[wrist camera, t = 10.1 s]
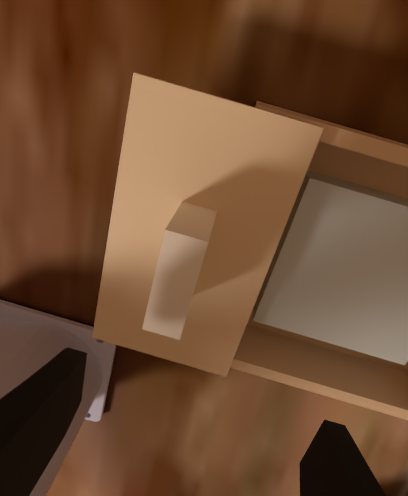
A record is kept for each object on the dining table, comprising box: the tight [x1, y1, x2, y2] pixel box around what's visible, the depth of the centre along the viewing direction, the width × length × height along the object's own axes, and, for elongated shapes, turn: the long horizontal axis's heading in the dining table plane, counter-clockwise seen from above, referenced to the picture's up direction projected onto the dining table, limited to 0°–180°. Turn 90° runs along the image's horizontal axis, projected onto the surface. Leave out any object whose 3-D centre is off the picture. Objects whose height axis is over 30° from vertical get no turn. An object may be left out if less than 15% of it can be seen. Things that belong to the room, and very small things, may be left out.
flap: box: [92, 73, 324, 377], centre depth 14 cm, size 7×12×4 cm, turn 165°
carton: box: [230, 101, 408, 420], centre depth 17 cm, size 14×12×4 cm
